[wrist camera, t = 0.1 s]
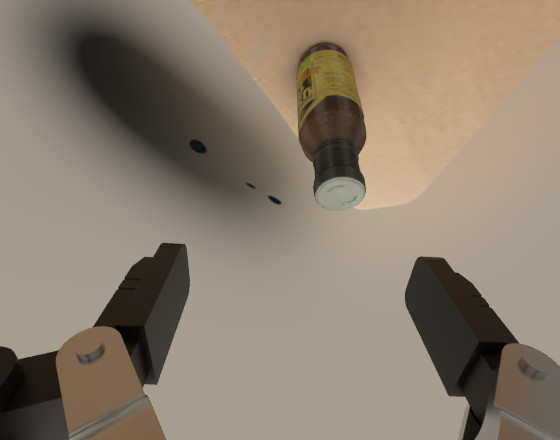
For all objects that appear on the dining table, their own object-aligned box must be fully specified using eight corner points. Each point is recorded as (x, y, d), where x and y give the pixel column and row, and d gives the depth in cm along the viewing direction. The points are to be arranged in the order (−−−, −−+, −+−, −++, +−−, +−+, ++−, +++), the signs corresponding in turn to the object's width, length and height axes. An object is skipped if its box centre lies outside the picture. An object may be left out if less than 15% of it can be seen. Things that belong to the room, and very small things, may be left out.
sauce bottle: (296, 41, 35) (301, 160, 22) (354, 40, 34) (392, 159, 22) (296, 96, 40) (299, 219, 27) (346, 95, 39) (373, 218, 27)
